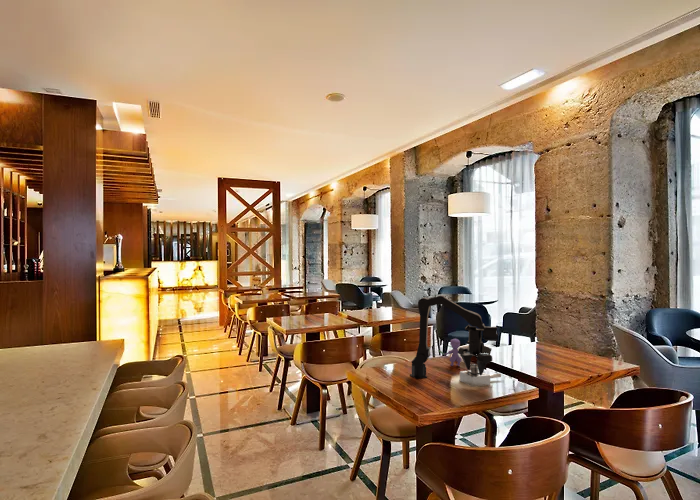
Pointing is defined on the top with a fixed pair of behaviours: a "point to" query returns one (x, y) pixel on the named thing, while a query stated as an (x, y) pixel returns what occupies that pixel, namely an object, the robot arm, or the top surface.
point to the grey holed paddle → (476, 378)
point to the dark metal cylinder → (474, 369)
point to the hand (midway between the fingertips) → (474, 372)
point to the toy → (454, 352)
